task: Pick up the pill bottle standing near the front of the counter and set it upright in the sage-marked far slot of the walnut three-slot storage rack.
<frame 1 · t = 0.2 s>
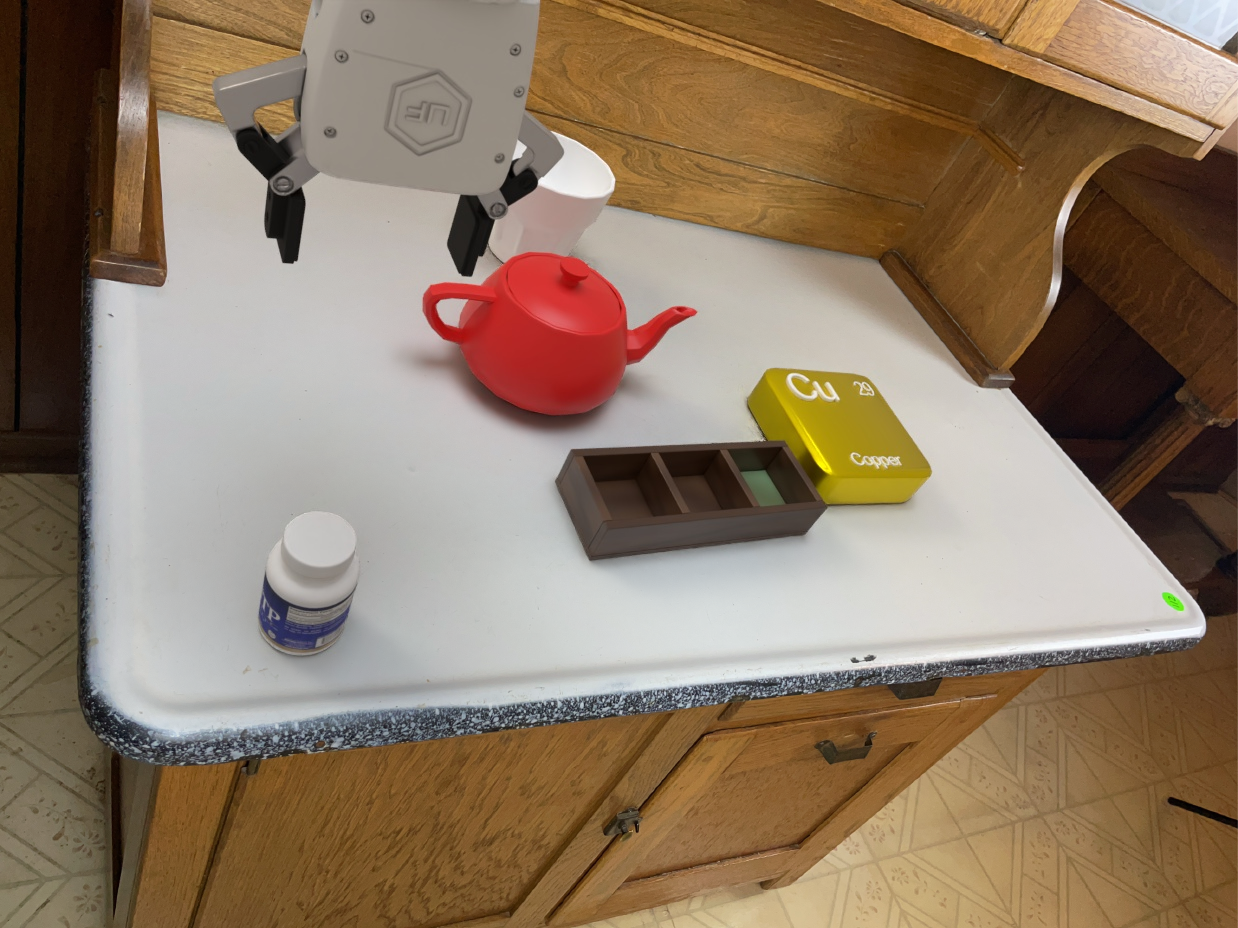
hand: (376, 255, 48), 21 cm above the worktop, tool pointing down, fingers open, 9 cm apart
rack: (686, 509, 74), on the worktop
element tile: (825, 450, 89), on the worktop
cup: (525, 253, 93), on the worktop
teapot: (540, 374, 80), on the worktop
pill bottle: (301, 623, 54), on the worktop
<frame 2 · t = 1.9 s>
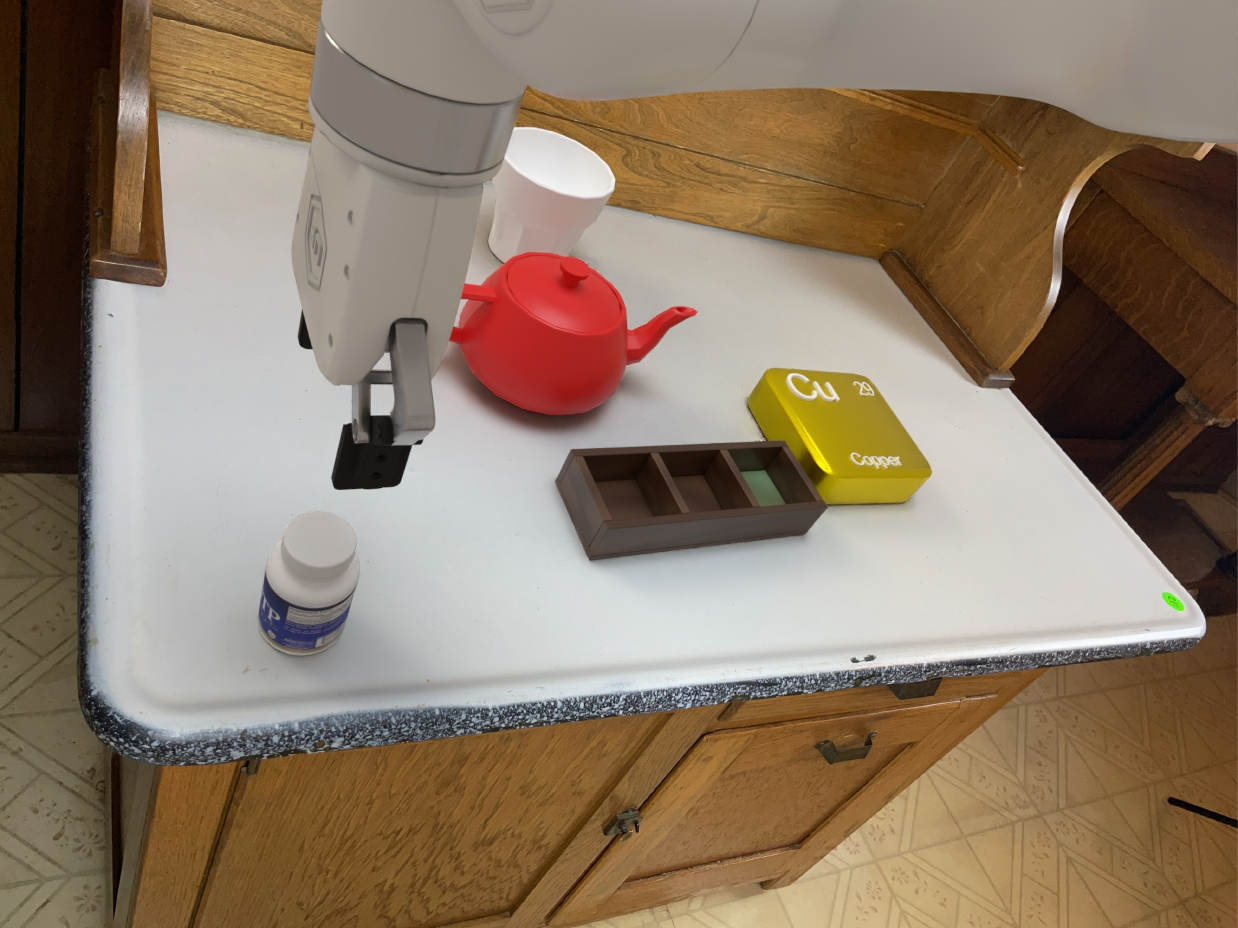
hand: (345, 410, 44), 17 cm above the worktop, tool pointing down, fingers open, 9 cm apart
nothing on the worktop moved.
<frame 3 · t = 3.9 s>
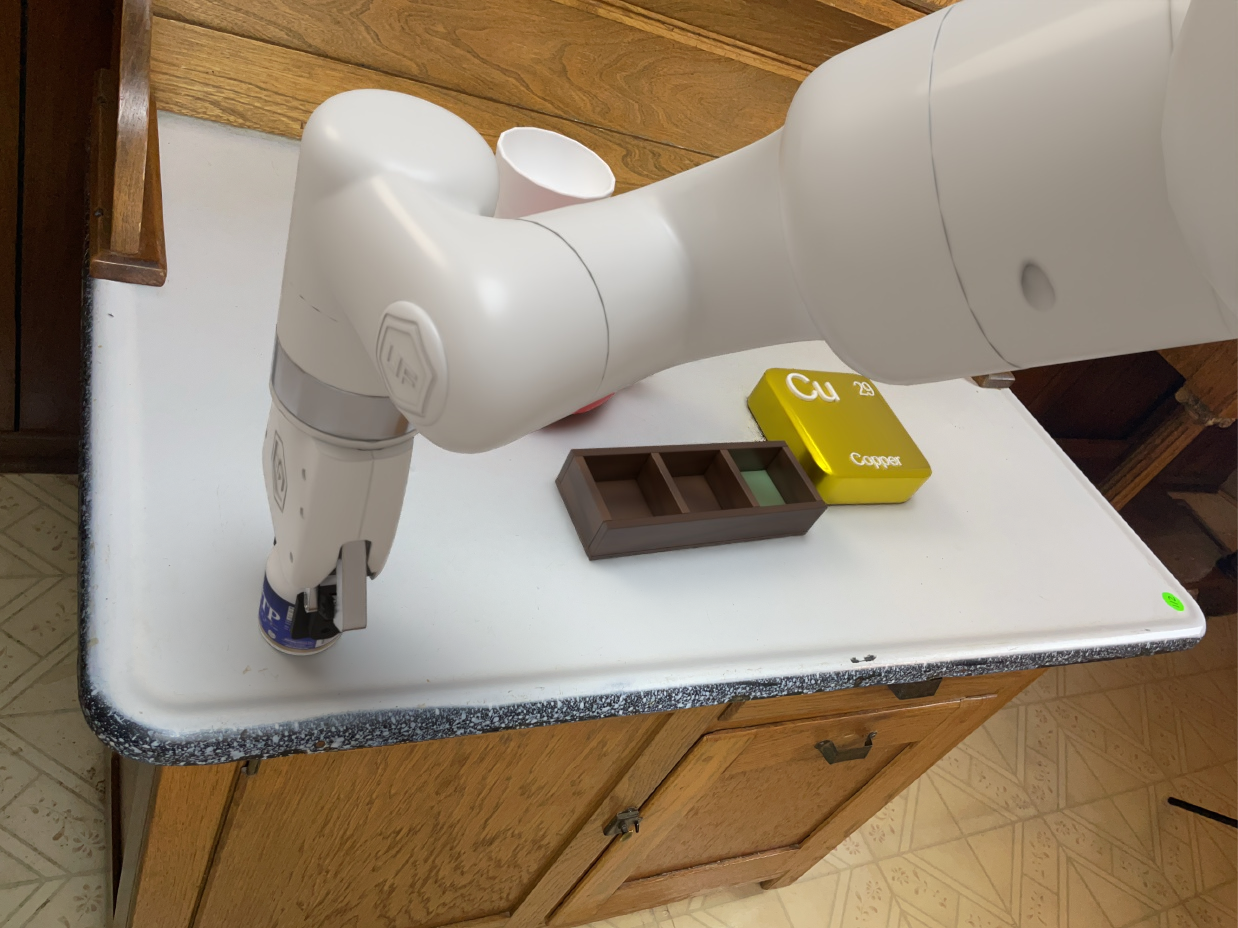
hand: (309, 587, 52), 4 cm above the worktop, tool pointing down, fingers closed on pill bottle, 5 cm apart
pill bottle: (301, 623, 54), on the worktop, touching gripper
everything else where it was.
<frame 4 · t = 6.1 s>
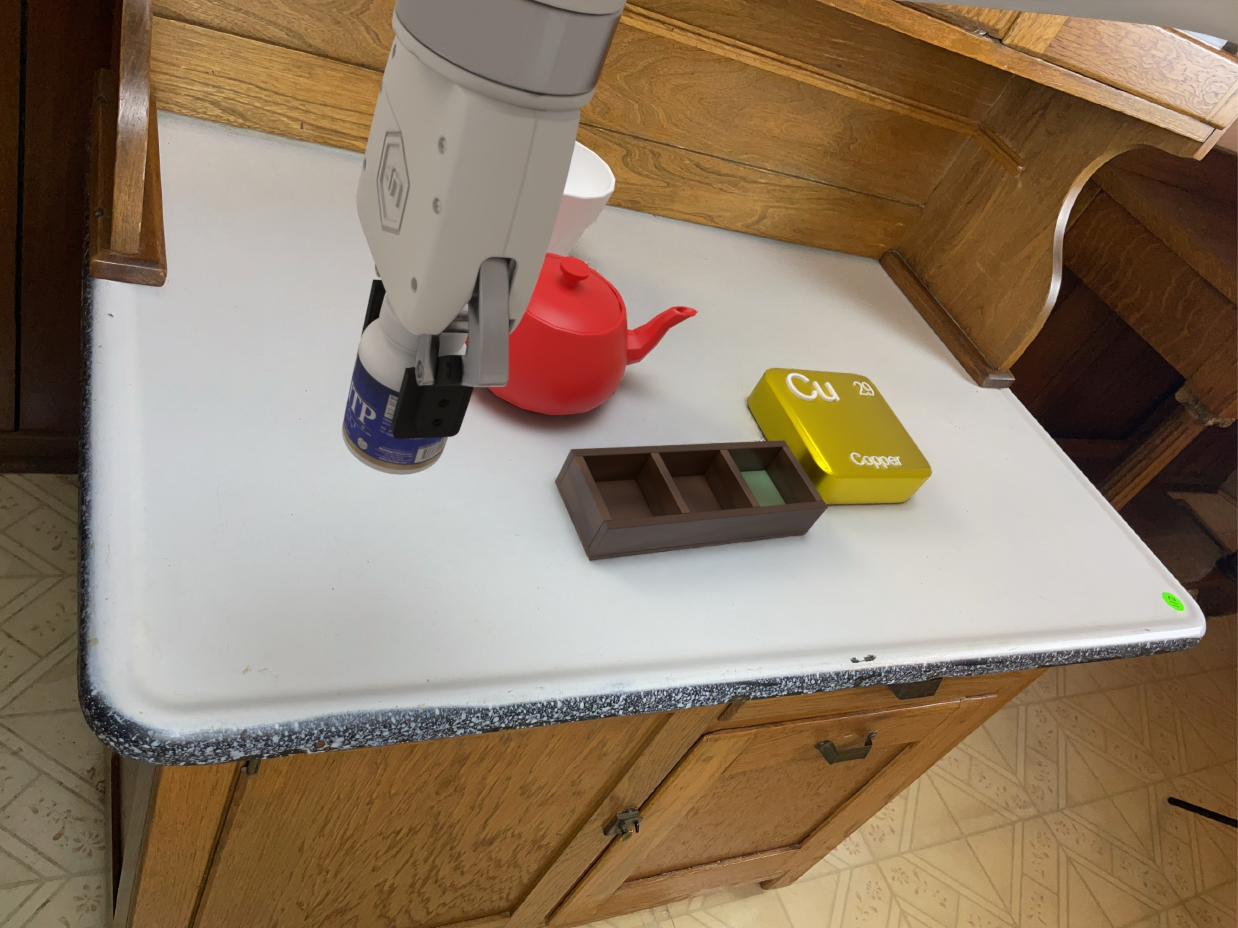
hand: (408, 386, 42), 21 cm above the worktop, tool pointing down, fingers closed on pill bottle, 5 cm apart
pill bottle: (392, 442, 45), point 17 cm above the worktop, touching gripper
everything else where it was.
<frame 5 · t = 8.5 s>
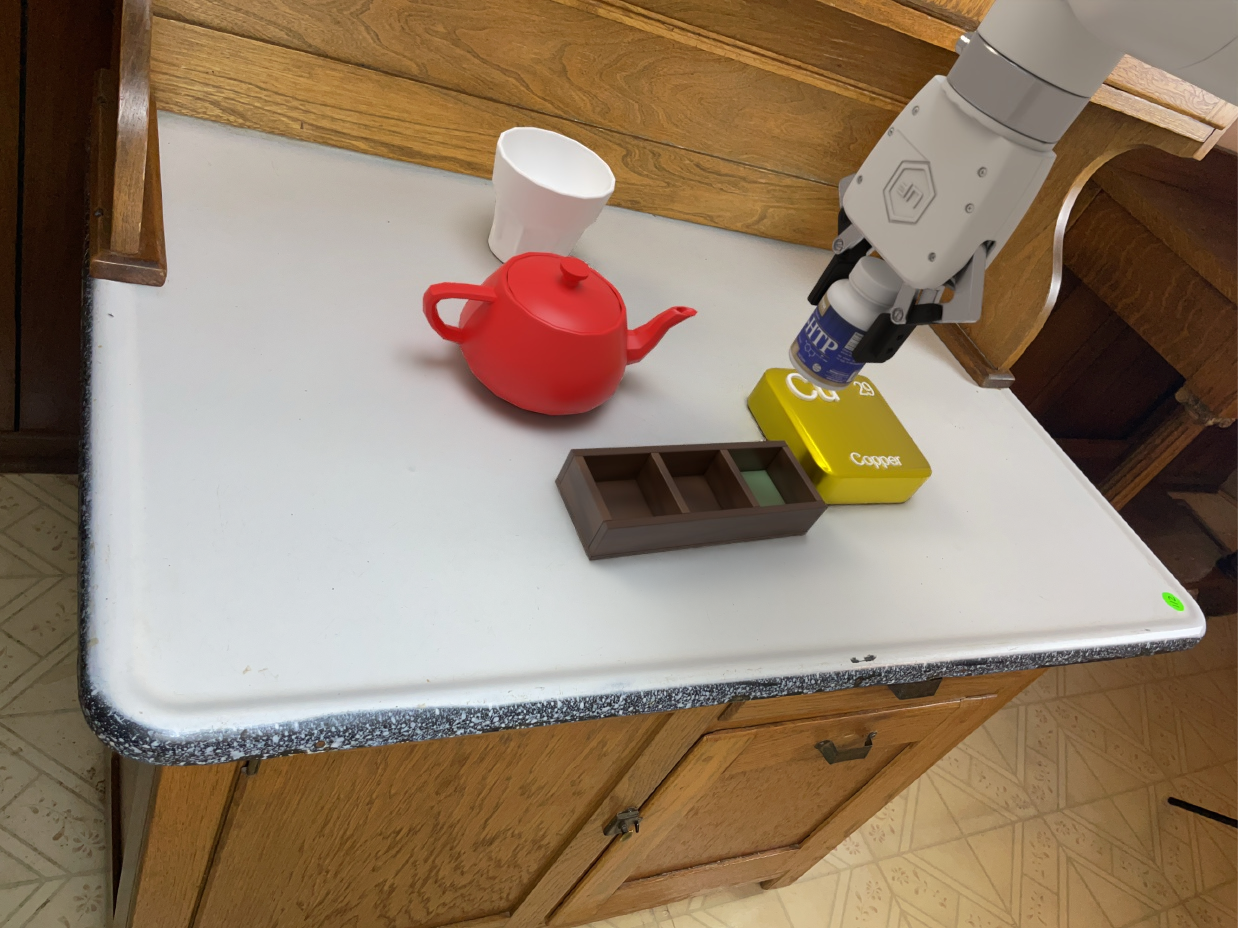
hand: (846, 329, 61), 21 cm above the worktop, tool pointing down, fingers closed on pill bottle, 5 cm apart
pill bottle: (816, 370, 64), point 17 cm above the worktop, touching gripper
everything else where it was.
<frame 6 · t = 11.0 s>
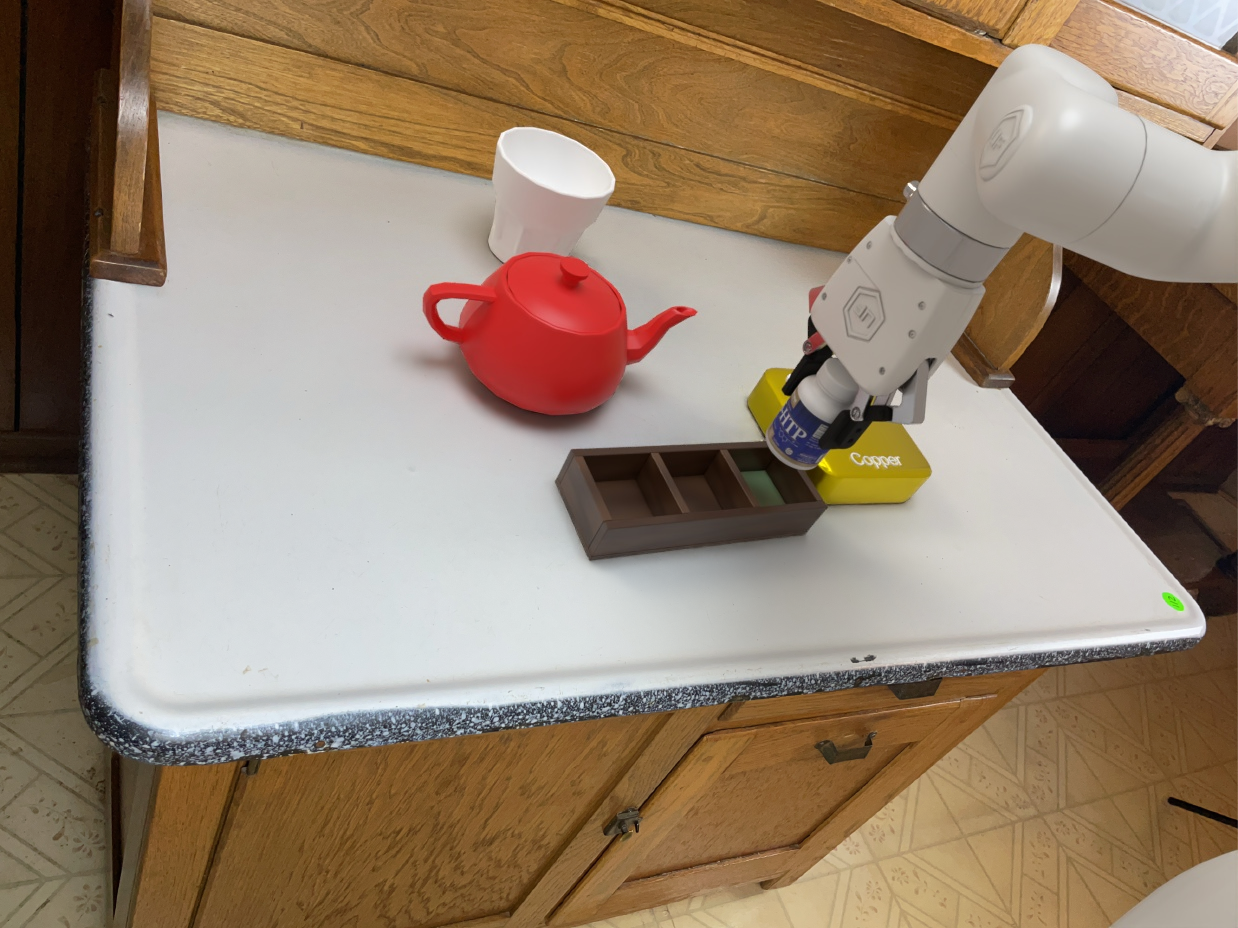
hand: (814, 417, 71), 11 cm above the worktop, tool pointing down, fingers closed on pill bottle, 5 cm apart
pill bottle: (790, 450, 73), point 7 cm above the worktop, touching gripper
everything else where it was.
when the fingers open (5 cm above the worktop, at t = 13.0 s): pill bottle stays where it is, resting on rack.
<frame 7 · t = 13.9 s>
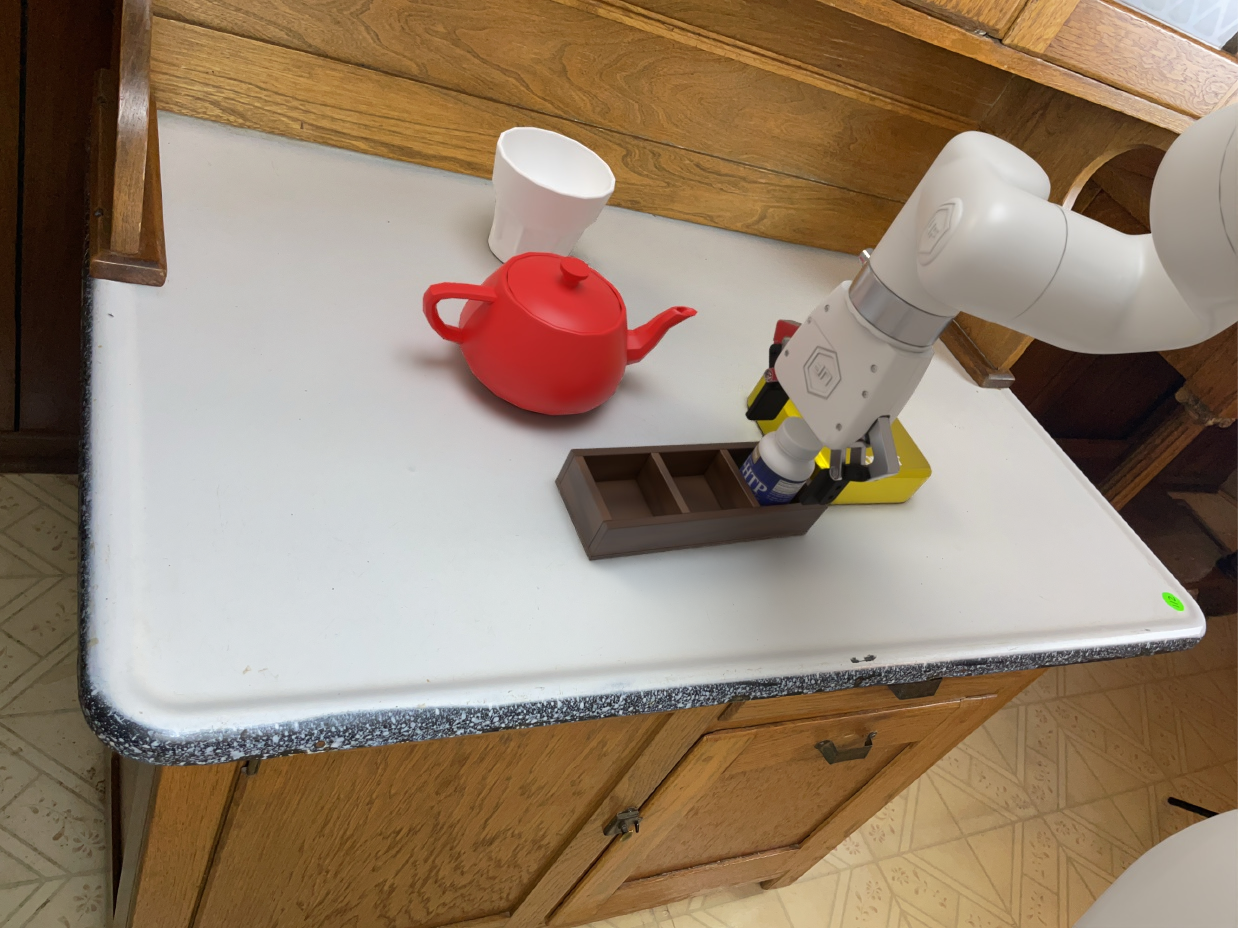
hand: (785, 458, 74), 6 cm above the worktop, tool pointing down, fingers open, 9 cm apart
pill bottle: (753, 500, 78), point 1 cm above the worktop, touching rack
everything else where it was.
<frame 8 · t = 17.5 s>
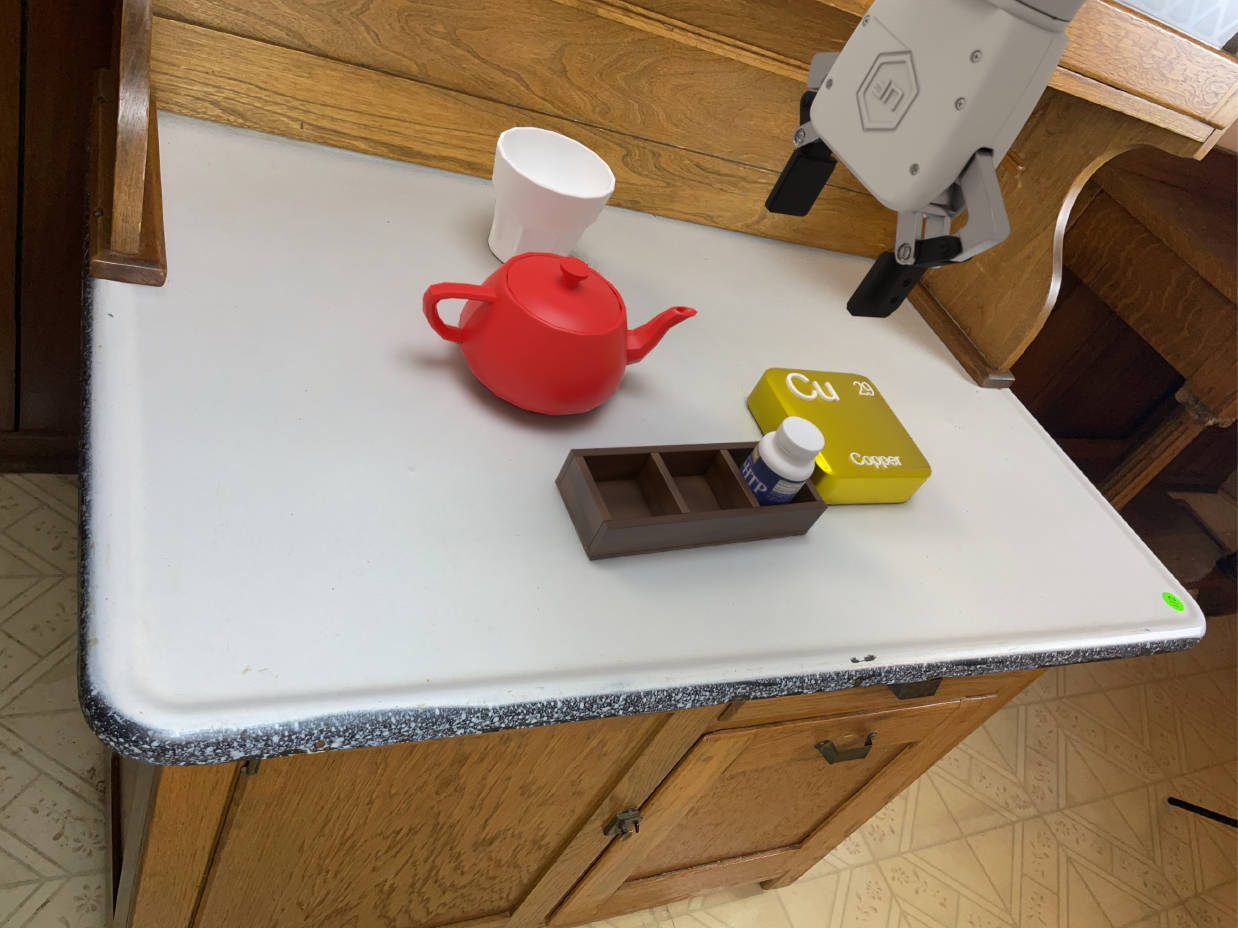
hand: (822, 260, 51), 28 cm above the worktop, tool pointing down, fingers open, 9 cm apart
nothing on the worktop moved.
at the end: pill bottle 0.1 cm from the target spot in the rack, point 0.5 cm above the rack's base; pill bottle tilted 0°; the gripper is holding nothing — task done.
